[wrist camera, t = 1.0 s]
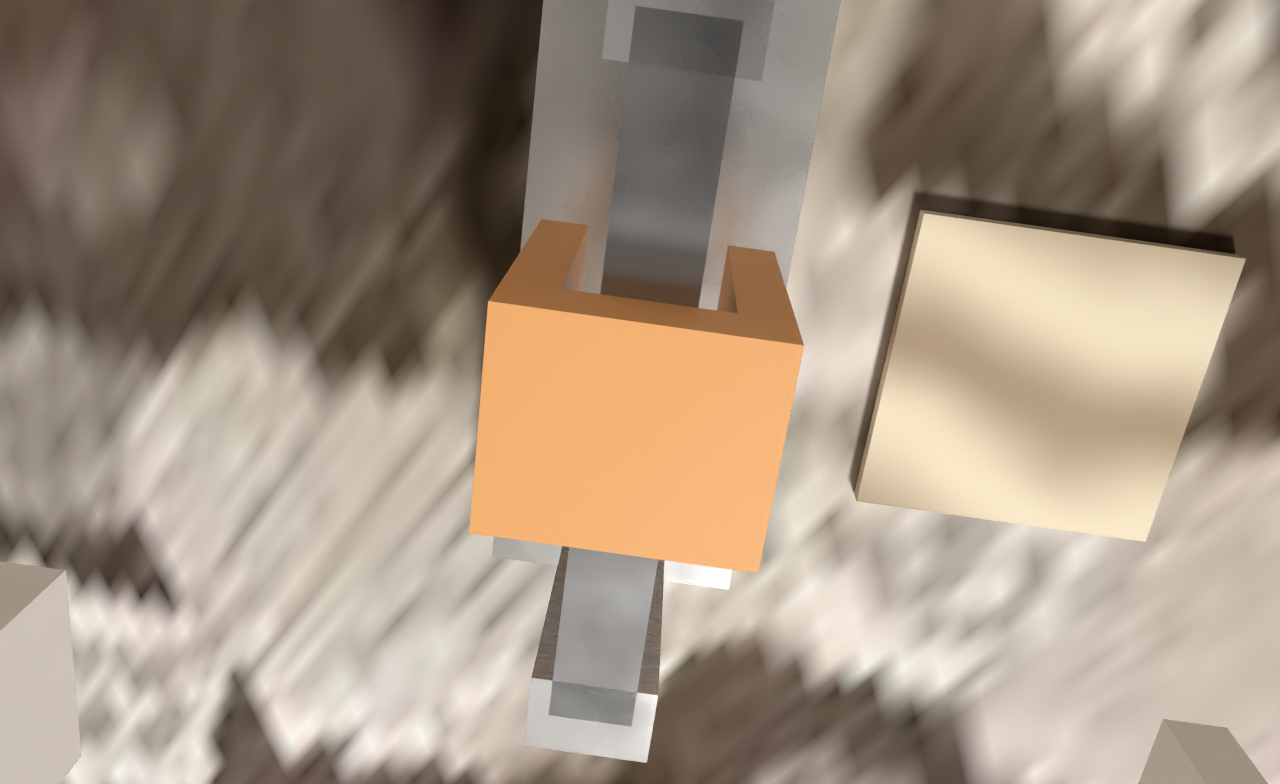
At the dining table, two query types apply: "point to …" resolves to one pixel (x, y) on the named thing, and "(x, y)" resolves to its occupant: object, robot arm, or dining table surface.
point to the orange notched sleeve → (633, 410)
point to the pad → (1042, 374)
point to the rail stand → (656, 267)
